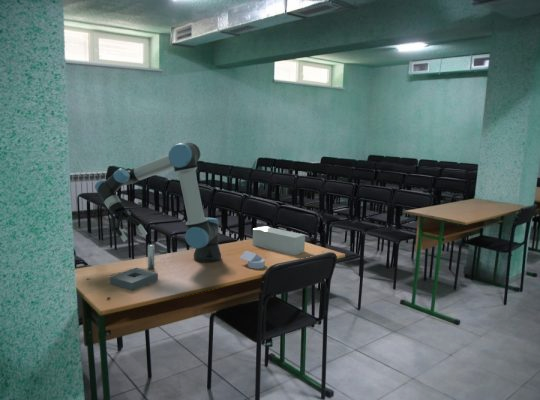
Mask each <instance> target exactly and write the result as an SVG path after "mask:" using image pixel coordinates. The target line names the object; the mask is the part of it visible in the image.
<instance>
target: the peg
mask: <svg viewBox="0 0 540 400" xmlns="http://www.w3.org/2000/svg"><path fill="white" fill-rule="evenodd" d="M147 269H148V270H154V269H155V244H148V245H147Z"/></svg>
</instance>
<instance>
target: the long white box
mask: <svg viewBox="0 0 540 400" xmlns="http://www.w3.org/2000/svg"><path fill="white" fill-rule="evenodd" d="M251 240H252V241H251V242H252V244H251V245H252V246H255V247H259V248H262V249H267V250H271V251H275V252H280V253H283V254H284V253H285V254H287V255H288V254H289V255H291V256H296V255H299V254H301V253H304V252H305V250H306V249H305V245H306V243H305V242H306V234H303V233H299V232H294V231H290V230H283V229H279V228H275V227H274V228H273V227H270V226H265V225H262V226H258V227H254V228H252V239H251Z"/></svg>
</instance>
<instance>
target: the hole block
mask: <svg viewBox="0 0 540 400" xmlns="http://www.w3.org/2000/svg"><path fill="white" fill-rule="evenodd" d="M158 280H159V273H158V272H156V271H155V272H154V271H152V270H149V269H148V270H147V269H143V268H139V267H134V268H132V269H128V270H126V271H123V272H120V273H117V274H114V275H111V276H109V285H112V286H115V287H119V288H123V289H125V290H129V291H135V290H137V289H140V288H142V287H145V286H147V285H149V284H153V283H155V282H158Z"/></svg>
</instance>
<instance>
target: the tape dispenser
mask: <svg viewBox="0 0 540 400" xmlns="http://www.w3.org/2000/svg"><path fill="white" fill-rule="evenodd" d="M239 259H240V260H244V261H246V262H247V267H248V268H250V269H253V268H254V269H253V270H255V269H256V270H257V269H259V270H260V269H264V268H265V267H264V266H266V263H265V262H266V259H264V258H262V257H261V256H260V255H258V254H257V253H254V252H253V251H248V250H244V252H243V253H242V254H241V255H240V256H239ZM263 267H264V268H263Z"/></svg>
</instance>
